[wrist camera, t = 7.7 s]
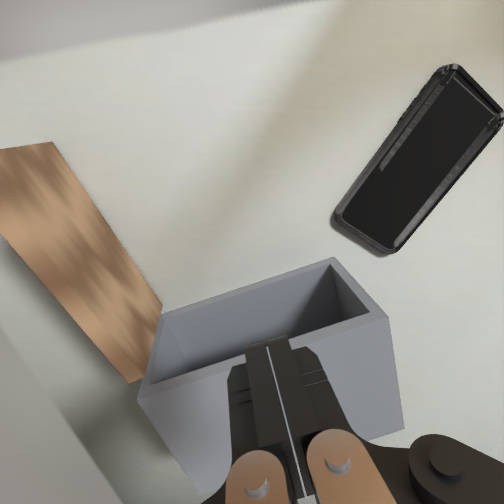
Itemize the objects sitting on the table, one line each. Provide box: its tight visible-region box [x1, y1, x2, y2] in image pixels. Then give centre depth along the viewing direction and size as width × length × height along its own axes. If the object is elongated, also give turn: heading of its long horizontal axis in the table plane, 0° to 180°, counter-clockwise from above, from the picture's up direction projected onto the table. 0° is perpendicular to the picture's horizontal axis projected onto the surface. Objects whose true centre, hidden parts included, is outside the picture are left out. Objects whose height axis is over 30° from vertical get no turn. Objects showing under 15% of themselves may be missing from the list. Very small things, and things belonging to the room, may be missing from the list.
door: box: [0, 142, 163, 384], centre depth 22 cm, size 16×2×9 cm, turn 23°
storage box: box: [136, 257, 405, 496], centre depth 28 cm, size 12×18×10 cm, turn 107°
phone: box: [334, 64, 504, 254], centre depth 27 cm, size 8×1×15 cm
